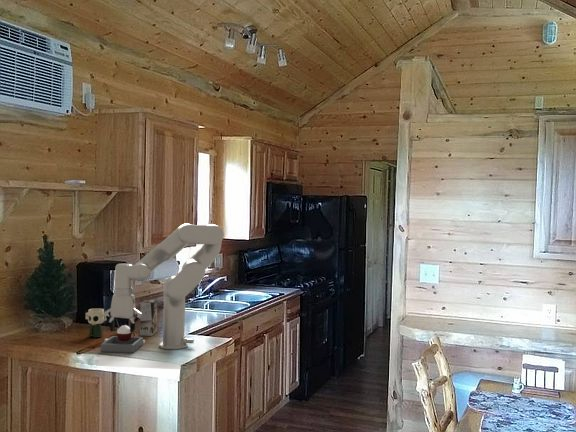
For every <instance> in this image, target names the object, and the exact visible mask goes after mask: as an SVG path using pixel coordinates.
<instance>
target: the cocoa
mask: <svg viewBox="0 0 576 432" xmlns="http://www.w3.org/2000/svg"><path fill="white" fill-rule="evenodd" d="M114 322H115V325H116V327H117V329H116V336H117V337H118V340H120V341H122V342H125V341H129V340H130V338H131V337H132V338H133V337H136V336H135V335H136V334H135V333H134V332H132V333H131V332H130V326H129V325H127V324H124V325H123V324H122V325H121V326H120V324H119V321H118V319H117V318H115V319H114ZM132 338H131V339H132Z"/></svg>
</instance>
